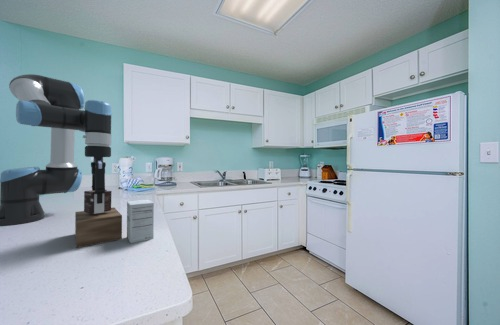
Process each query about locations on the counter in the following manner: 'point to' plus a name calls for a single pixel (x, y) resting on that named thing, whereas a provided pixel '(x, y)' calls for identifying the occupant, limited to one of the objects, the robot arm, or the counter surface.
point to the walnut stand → (97, 227)
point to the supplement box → (140, 220)
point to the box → (90, 201)
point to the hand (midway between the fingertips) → (97, 210)
